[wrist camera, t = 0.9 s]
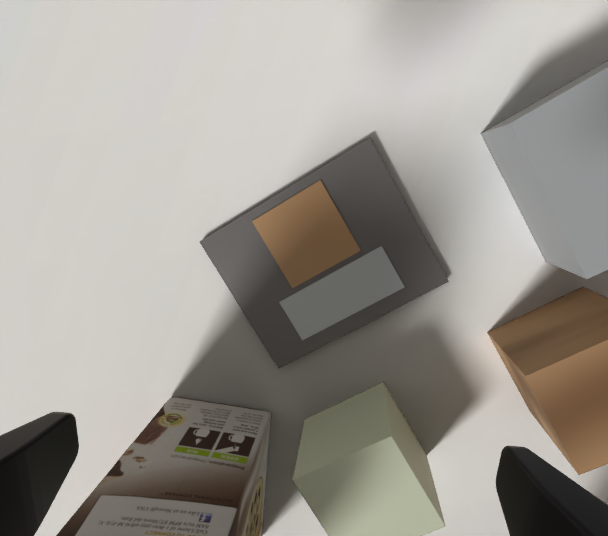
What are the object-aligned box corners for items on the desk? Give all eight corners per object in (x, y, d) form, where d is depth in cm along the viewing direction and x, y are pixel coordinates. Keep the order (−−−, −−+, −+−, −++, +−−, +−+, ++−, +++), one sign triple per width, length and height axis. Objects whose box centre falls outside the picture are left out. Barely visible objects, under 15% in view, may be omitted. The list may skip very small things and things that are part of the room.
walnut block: (624, 369, 21) (704, 426, 16) (529, 410, 22) (578, 474, 18) (582, 286, 21) (652, 319, 16) (486, 331, 22) (525, 376, 17)
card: (446, 279, 21) (449, 281, 21) (279, 365, 23) (278, 369, 23) (369, 138, 20) (369, 137, 20) (202, 240, 22) (198, 242, 22)
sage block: (426, 454, 24) (445, 526, 19) (348, 487, 25) (346, 564, 20) (383, 381, 23) (391, 436, 18) (304, 418, 24) (292, 480, 19)
